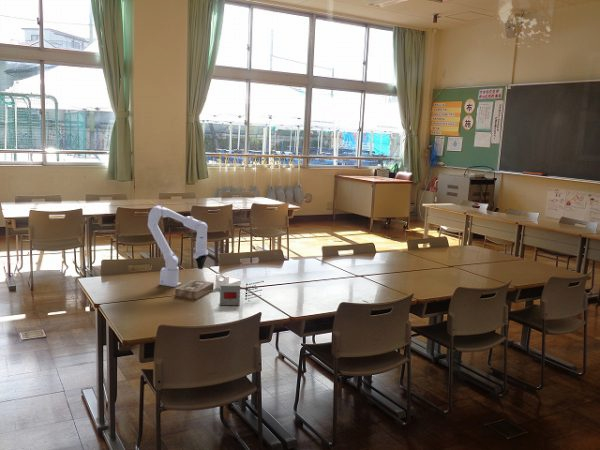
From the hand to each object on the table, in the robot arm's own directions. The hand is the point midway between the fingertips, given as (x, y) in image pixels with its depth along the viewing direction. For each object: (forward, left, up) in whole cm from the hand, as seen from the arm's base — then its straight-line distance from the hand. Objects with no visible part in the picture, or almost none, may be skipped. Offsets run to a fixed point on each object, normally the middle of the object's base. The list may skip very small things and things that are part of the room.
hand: (200, 268), depth 306 cm
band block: (+4, -14, -9) cm, 17 cm away
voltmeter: (+32, -17, -10) cm, 37 cm away
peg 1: (+4, -19, -9) cm, 22 cm away
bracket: (+15, +5, -10) cm, 18 cm away
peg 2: (+4, -9, -9) cm, 14 cm away
